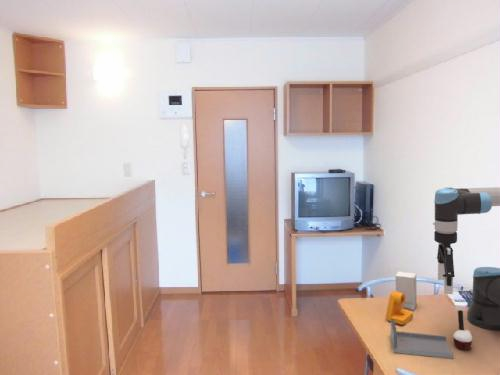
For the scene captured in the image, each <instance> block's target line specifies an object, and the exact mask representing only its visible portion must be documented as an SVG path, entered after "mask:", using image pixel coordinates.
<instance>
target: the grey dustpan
mask: <svg viewBox="0 0 500 375" xmlns="http://www.w3.org/2000/svg"><path fill="white" fill-rule="evenodd" d="M390 339H391V345H392V350H393V353H394V354H403V355H404V354H405V355H410V356H411V355H412V356H420V357H421V356H422V357H430V358H431V357H432V358H439V359H451V360H453V359H454V355H455V354H454V352H452V349H451V348H450V344H449V343H448V340H447V335H443V334H442V335H441V334H431V333H430V334H429V333H420V332H419V333H418V332H408V331H407V332H406V331H399V330H398V331H397V326H396V323H395V321H394V319H391V321H390Z"/></svg>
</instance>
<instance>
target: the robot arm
mask: <svg viewBox="0 0 500 375" xmlns="http://www.w3.org/2000/svg"><path fill="white" fill-rule="evenodd" d="M433 202H434V221H433V222H432V225H434V237H433V238H434V239H433V240H434V242H437V244H438V247H437V257H436V259H437V280H439V281H443V293H444V295H454V278H455V277H456V276H455V265H454V249H453V247H452V246H451V245H452V244H456V243H457V242H458V223H459V222H458V216H460V215H462V216H463V215H474V214H476V215H477V214H479V215H481V214H486V213H489V212H490V211H491V209H492V207H500V186H498V187H496V186H495V187H494V186H493V187H465V188H463V187H461V188H453V187H443V188H439V189H437V190H436V191H435V192H434V201H433ZM471 299H472V301H471V303H470V306H469V307H468V310H467V312H466V313H467V314H466V319H467V321H468V322H469V323H470V324H472V325H474V326H476V327H479V328H483V329H484V330H485V329H486V330H493V331H500V267H497V266H496V267H494V266H479V267H476V268H475V269H474V270H473V275H472V298H471Z"/></svg>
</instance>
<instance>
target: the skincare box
mask: <svg viewBox="0 0 500 375" xmlns="http://www.w3.org/2000/svg"><path fill="white" fill-rule="evenodd" d="M395 291H396V292H400V293H403V294H405V303H404V305H403V306H402V309H405V310H409V311H415V309H416V308H417V305H418V304H417V302H418V301H417V299H418V298H417V296H418V295H417V273H416V272H407V271H399V270H398V271H397V273H396V274H395Z"/></svg>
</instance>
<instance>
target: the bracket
mask: <svg viewBox="0 0 500 375" xmlns="http://www.w3.org/2000/svg"><path fill="white" fill-rule="evenodd" d="M404 303H405V294H403V293H400V292H396V290H392V291H391V292H390V293H389V297H388V303H387V307H386V308H387V309H386V315H385V320H386V321H389V322H391V319H394V321H395V324H398V325H402V326H404V325H405V326H406V325H407V324H409V322H410V321H411V320H412V318H414V312H413V310H409V309H404V308H402V306H403V305H404Z"/></svg>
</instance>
